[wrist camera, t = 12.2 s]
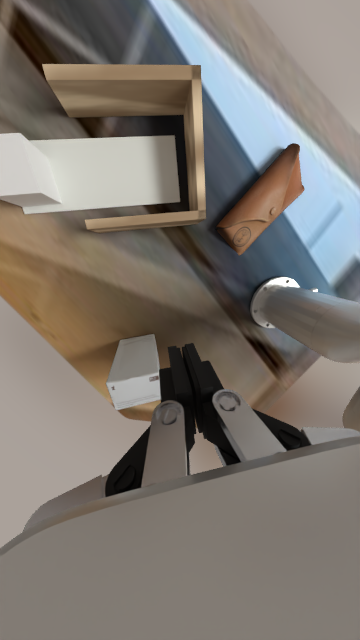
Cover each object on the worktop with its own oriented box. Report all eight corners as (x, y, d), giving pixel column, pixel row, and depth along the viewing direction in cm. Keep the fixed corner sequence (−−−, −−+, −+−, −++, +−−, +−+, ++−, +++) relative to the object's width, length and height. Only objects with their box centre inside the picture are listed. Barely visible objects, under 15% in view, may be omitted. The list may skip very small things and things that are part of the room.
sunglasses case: (239, 259, 37) (243, 246, 30) (215, 239, 38) (214, 222, 31) (307, 187, 33) (327, 156, 27) (278, 167, 35) (292, 133, 28)
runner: (174, 136, 28) (174, 135, 27) (179, 202, 31) (180, 201, 31) (-3, 142, 25) (-4, 141, 25) (25, 214, 28) (24, 214, 28)
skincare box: (125, 359, 41) (112, 413, 28) (119, 337, 39) (102, 384, 25) (160, 353, 42) (164, 402, 29) (156, 331, 40) (158, 373, 26)
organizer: (66, 106, 25) (42, 64, 19) (190, 103, 26) (200, 65, 21) (98, 233, 31) (87, 229, 25) (196, 224, 33) (206, 218, 27)
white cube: (23, 207, 28) (-8, 196, 22) (4, 160, 26) (-36, 135, 20) (62, 203, 28) (41, 192, 23) (47, 157, 26) (19, 132, 21)
